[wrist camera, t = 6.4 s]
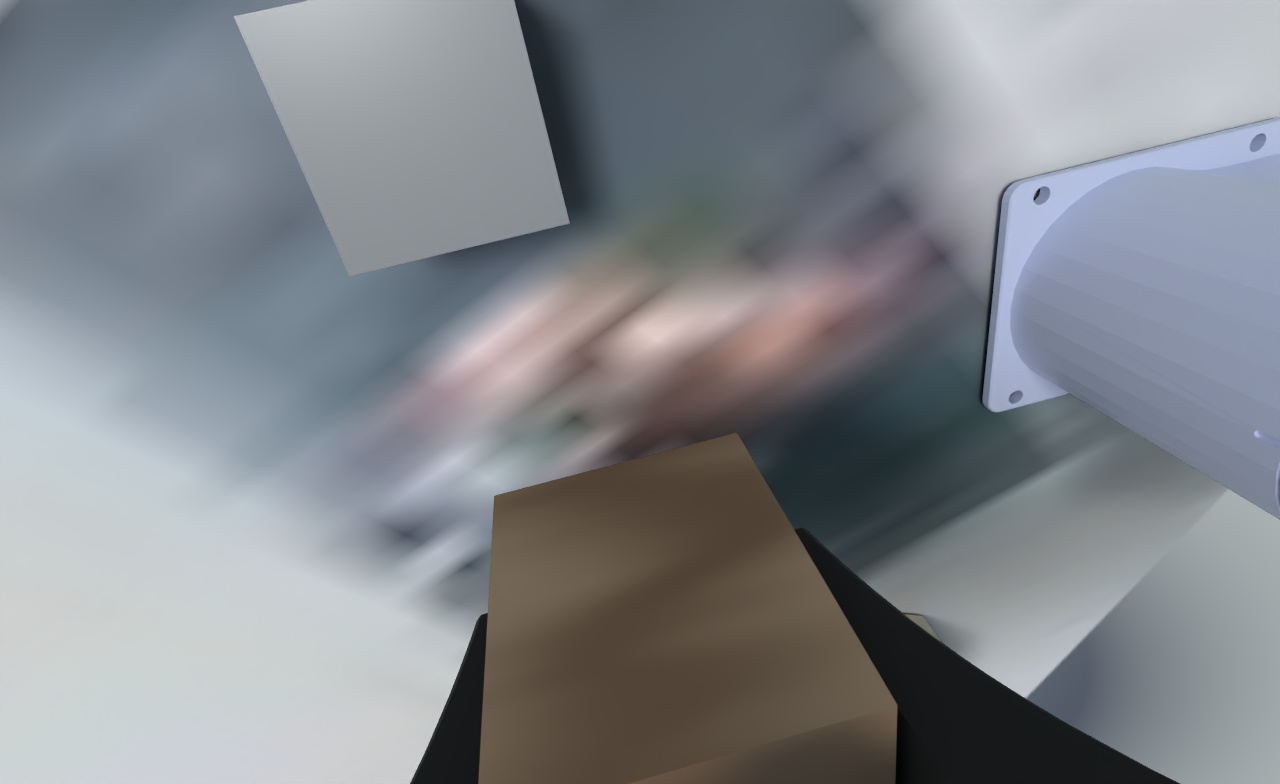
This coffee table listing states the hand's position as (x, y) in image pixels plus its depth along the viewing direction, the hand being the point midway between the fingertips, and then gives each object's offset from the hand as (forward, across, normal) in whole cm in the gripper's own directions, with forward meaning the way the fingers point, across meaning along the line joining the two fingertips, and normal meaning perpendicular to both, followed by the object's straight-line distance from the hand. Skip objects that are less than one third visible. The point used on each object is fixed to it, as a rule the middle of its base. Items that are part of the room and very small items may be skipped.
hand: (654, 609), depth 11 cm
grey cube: (+10, +2, -8) cm, 13 cm away
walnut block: (+1, 0, 0) cm, 1 cm away
